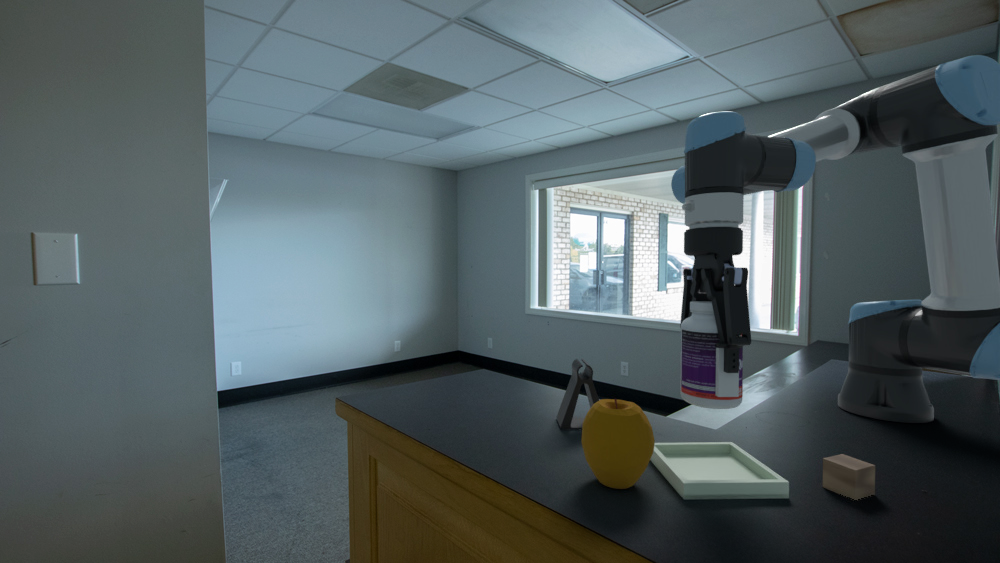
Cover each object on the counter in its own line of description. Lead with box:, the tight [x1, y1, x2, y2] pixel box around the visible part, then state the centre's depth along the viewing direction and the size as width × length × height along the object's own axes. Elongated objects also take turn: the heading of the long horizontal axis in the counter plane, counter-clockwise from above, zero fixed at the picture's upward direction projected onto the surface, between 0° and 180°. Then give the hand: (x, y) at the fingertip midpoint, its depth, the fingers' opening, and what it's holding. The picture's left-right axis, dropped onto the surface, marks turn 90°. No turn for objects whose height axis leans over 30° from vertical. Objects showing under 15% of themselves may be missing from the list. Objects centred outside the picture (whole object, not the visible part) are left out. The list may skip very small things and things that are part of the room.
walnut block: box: [822, 453, 876, 501], centre depth 60 cm, size 4×4×4 cm
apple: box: [581, 397, 656, 490], centre depth 62 cm, size 10×10×12 cm
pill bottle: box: [679, 301, 744, 410], centre depth 64 cm, size 8×8×14 cm
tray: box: [650, 441, 790, 500], centre depth 65 cm, size 14×14×2 cm
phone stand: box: [556, 358, 600, 430], centre depth 86 cm, size 9×6×12 cm, turn 90°
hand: (710, 387), depth 64 cm, fingers closed on pill bottle, 8 cm apart
